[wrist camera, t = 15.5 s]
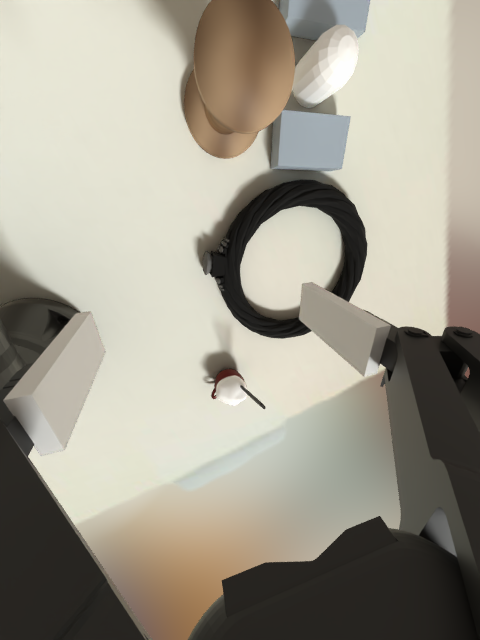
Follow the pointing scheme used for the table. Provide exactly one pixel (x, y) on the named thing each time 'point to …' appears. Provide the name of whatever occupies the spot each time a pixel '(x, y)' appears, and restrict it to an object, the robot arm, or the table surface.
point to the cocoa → (231, 388)
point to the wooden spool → (238, 74)
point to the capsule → (326, 66)
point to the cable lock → (248, 222)
